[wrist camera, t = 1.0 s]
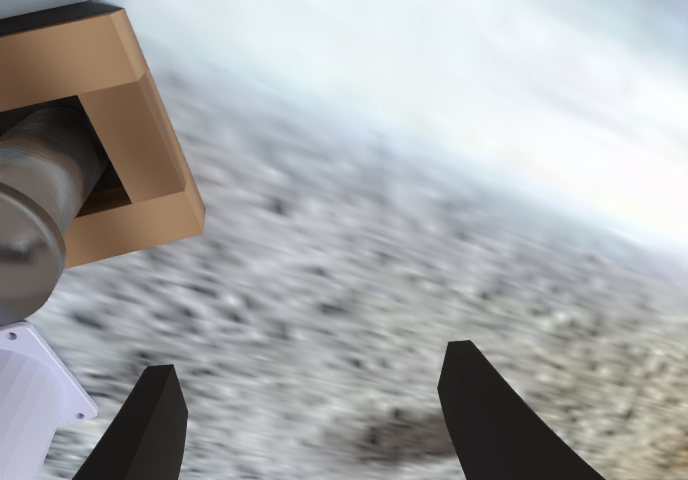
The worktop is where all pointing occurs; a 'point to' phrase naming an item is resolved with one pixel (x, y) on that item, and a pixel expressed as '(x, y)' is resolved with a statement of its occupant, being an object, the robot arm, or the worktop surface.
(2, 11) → the dish
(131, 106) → the socket block
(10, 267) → the pin
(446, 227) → the worktop surface
